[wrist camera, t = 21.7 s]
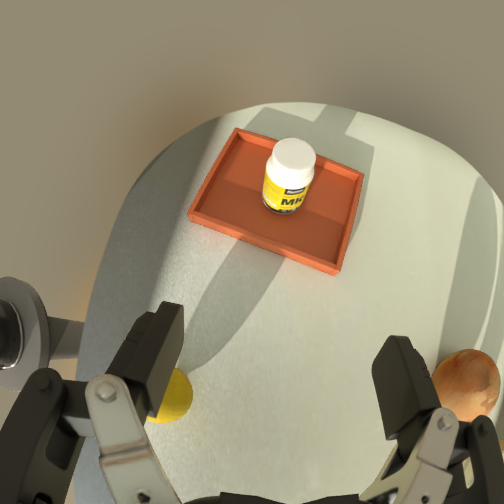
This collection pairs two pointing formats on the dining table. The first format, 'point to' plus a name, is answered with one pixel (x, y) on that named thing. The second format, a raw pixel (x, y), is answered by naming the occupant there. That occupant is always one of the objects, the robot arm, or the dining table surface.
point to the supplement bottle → (288, 175)
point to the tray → (272, 224)
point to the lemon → (175, 399)
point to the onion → (467, 384)
